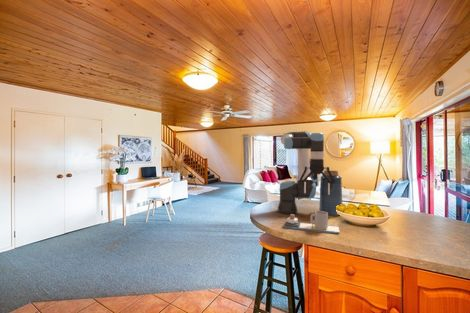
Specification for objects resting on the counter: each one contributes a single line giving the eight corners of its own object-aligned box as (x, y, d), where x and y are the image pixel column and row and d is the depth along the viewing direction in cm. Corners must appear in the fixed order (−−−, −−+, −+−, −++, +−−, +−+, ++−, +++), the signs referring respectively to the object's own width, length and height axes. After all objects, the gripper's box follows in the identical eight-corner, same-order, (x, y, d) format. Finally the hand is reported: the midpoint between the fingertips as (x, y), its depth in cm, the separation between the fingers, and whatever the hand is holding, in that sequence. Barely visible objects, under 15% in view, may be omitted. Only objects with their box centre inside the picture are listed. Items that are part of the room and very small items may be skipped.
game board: (286, 222, 145) (286, 219, 145) (338, 228, 133) (338, 224, 133) (283, 227, 135) (283, 224, 134) (339, 234, 123) (339, 231, 123)
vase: (321, 215, 160) (321, 172, 159) (317, 209, 176) (317, 170, 175) (345, 216, 156) (345, 172, 155) (339, 210, 172) (339, 170, 171)
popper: (287, 219, 142) (287, 212, 142) (298, 220, 140) (298, 213, 140) (286, 222, 136) (286, 215, 136) (297, 224, 134) (297, 216, 134)
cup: (326, 230, 127) (326, 215, 127) (308, 227, 132) (308, 212, 132) (328, 226, 133) (328, 212, 133) (311, 223, 138) (311, 209, 138)
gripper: (294, 158, 134) (294, 193, 135) (340, 159, 125) (339, 196, 126) (296, 158, 141) (296, 191, 142) (339, 158, 132) (338, 193, 133)
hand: (316, 193), depth 134 cm, fingers open, 13 cm apart
